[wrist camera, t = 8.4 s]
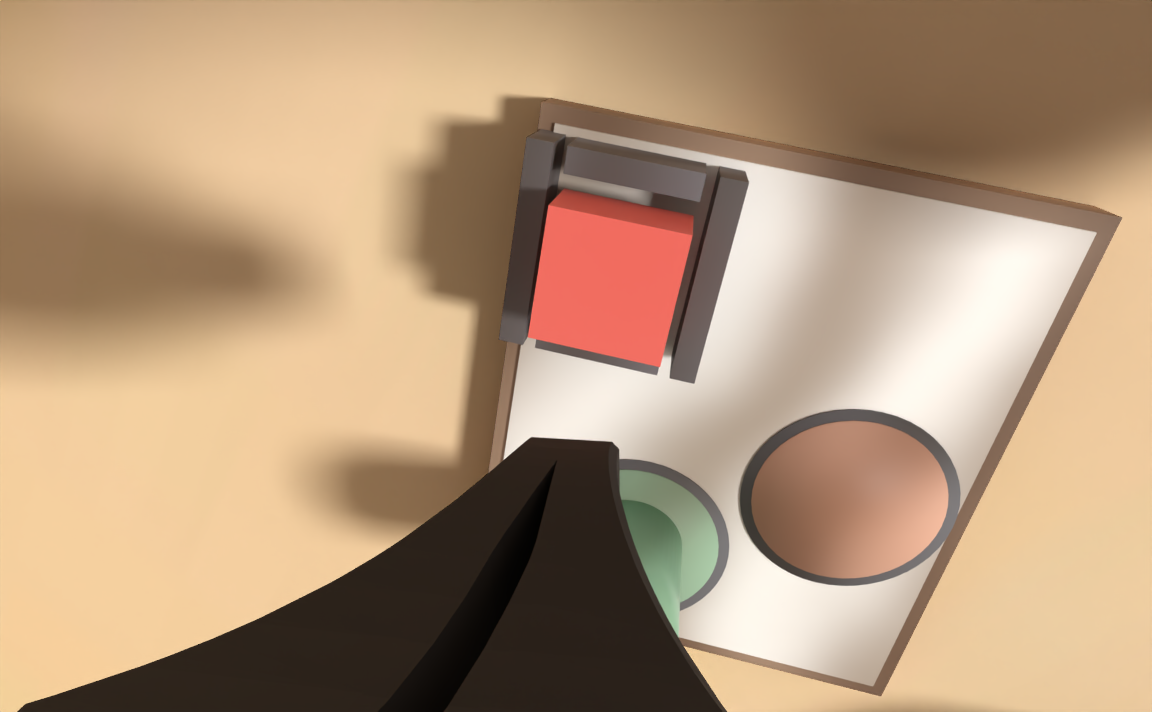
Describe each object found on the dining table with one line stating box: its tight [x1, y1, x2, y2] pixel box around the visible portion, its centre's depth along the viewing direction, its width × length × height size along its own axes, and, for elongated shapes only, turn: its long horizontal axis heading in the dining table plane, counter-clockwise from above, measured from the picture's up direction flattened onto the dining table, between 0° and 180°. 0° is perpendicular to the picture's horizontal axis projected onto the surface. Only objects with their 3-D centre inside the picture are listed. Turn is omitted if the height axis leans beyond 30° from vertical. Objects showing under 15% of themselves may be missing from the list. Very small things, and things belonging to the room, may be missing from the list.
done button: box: [528, 189, 694, 367], centre depth 15 cm, size 3×3×2 cm
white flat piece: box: [488, 98, 1122, 696], centre depth 19 cm, size 13×15×3 cm
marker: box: [621, 500, 682, 638], centre depth 18 cm, size 3×3×7 cm
